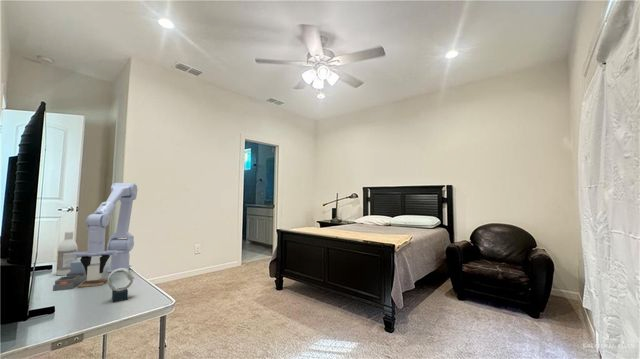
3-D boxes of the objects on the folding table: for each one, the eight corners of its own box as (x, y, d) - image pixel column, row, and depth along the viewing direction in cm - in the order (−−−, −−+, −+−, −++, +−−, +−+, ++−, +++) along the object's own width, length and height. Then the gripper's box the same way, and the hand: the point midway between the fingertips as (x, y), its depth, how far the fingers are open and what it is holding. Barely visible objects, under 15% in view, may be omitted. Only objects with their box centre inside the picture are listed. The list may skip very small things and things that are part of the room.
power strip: (78, 273, 127) (78, 266, 127) (93, 272, 129) (94, 265, 129) (52, 290, 105) (53, 281, 105) (72, 288, 107) (73, 280, 108)
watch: (133, 298, 99) (135, 268, 100) (106, 303, 94) (108, 272, 94) (132, 293, 103) (133, 265, 104) (105, 299, 98) (107, 268, 99)
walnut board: (86, 281, 117) (86, 279, 117) (108, 279, 120) (108, 277, 120) (77, 287, 109) (77, 286, 109) (102, 285, 112) (102, 284, 112)
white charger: (90, 277, 115) (91, 263, 116) (101, 276, 117) (102, 263, 117) (86, 280, 112) (87, 266, 112) (98, 279, 113) (99, 265, 114)
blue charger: (73, 274, 120) (74, 260, 120) (85, 273, 122) (85, 259, 122) (69, 276, 116) (70, 262, 117) (81, 275, 118) (82, 261, 118)
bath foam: (59, 272, 128) (62, 231, 129) (78, 271, 131) (80, 230, 132) (53, 276, 122) (56, 233, 123) (73, 274, 125) (76, 232, 126)
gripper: (70, 244, 109) (68, 278, 108) (114, 242, 115) (112, 274, 114) (78, 241, 115) (75, 273, 114) (118, 239, 121) (117, 269, 120)
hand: (94, 273), depth 115 cm, fingers closed on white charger, 4 cm apart
